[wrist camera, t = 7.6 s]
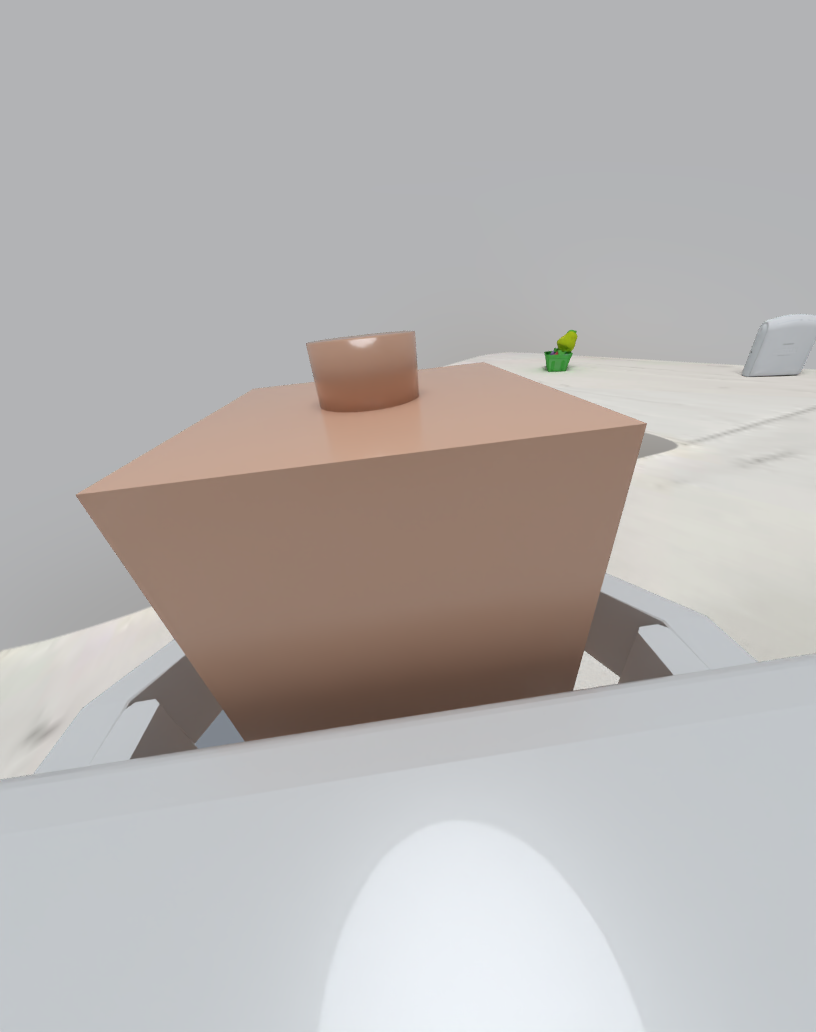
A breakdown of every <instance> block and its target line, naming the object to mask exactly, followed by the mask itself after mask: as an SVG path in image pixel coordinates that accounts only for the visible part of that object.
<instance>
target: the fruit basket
mask: <svg viewBox="0 0 816 1032" xmlns="http://www.w3.org/2000/svg"><path fill="white" fill-rule="evenodd" d="M576 339H577V334H576V331H574V330H570V331H568V332H567V334H566V335H564V336H563V337H561V338H560V339H559V340H558V341H557V345H558V348H557V349H556V348H554V351H549V352H544V353H545V358H546V367H547V370H548V372H554V371H566V368H567V366H568V363H569V360H570V358H571V356H572V353H571V351H572V350H573V348H574V346H575V342H576Z"/></svg>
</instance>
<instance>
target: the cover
mask: <svg viewBox="0 0 816 1032" xmlns="http://www.w3.org/2000/svg"><path fill="white" fill-rule="evenodd" d="M306 346H307V350H308V354H309V359H310V363H311V368H312V373H313V377H314V381H315V382H309V383H300V384H292V385H283V386H275V387H267V388H258V389H252V390H251V391H249V392H247V393H246V394H244V395H243V396H241V397H239V398H237V399H236V400H234V401H232V402H231V403H229V404H228V405H226V406H224V407H222V408H221V409H219V410H217V411H215V412H214V413H212V414H211V415H209V416H207V417H205V418H204V419H202V420H200V421H199V422H197V423H195V424H194V425H192V426H190V427H189V428H187V429H185V430H184V431H182V432H180V433H179V434H177V435H175V436H174V437H172V438H170V439H169V440H167V441H165V442H164V443H162V444H160V445H158V446H157V447H155V448H154V449H152V450H150V451H148V452H147V453H145V454H143V455H142V456H140V457H138V458H137V459H135V460H133V461H132V462H130V463H128V464H127V465H125V466H123V467H122V468H120V469H118V470H117V471H115V472H113V473H111V474H110V475H108V476H106V477H105V478H103V479H101V480H100V481H98V482H96V483H95V484H93V485H91V486H90V487H88V488H86V489H85V490H83V491H81V492H80V493H78V494H76V496H77V498H78V499H79V501H80V502H81V504H82V505H83V507H84V508H85V509H86V511H87V512H88V514H89V515H90V517H91V518H92V519H93V521H94V523H95V524H96V525H97V527H98V528H99V530H100V531H101V533H102V534H103V536H104V537H105V539H106V540H107V541H108V543H109V544H110V546H111V547H112V549H113V550H114V552H115V553H116V555H117V556H118V557H119V559H120V560H121V562H122V563H123V565H124V566H125V568H126V569H127V570H128V572H129V573H130V575H131V576H132V578H133V579H134V580H135V582H136V584H137V585H138V587H139V588H140V590H141V591H142V592H143V594H144V595H145V597H146V598H147V600H148V601H149V603H150V604H151V606H152V607H153V608H154V610H155V611H156V613H157V614H158V616H159V617H160V619H161V620H162V622H163V623H164V624H165V626H166V627H167V629H168V630H169V632H170V633H171V635H172V636H173V638H174V639H175V640H176V642H177V643H178V645H179V646H180V648H181V649H182V651H183V652H184V654H185V655H186V657H187V658H188V659H189V661H190V662H191V664H192V665H193V667H194V668H195V670H196V671H197V673H198V674H199V675H200V677H201V678H202V680H203V681H204V683H205V684H206V686H207V687H208V689H209V690H210V691H211V693H212V694H213V696H214V697H215V699H216V700H217V702H218V703H219V705H220V706H221V707H222V709H223V710H224V712H225V713H226V715H227V716H228V718H229V719H230V721H231V722H232V723H233V725H234V726H235V728H236V729H237V731H238V732H239V734H240V735H241V737H242V738H243V740H244V741H245V742H246V741H252V740H259V739H265V738H272V737H278V736H285V735H291V734H298V733H304V732H311V731H317V730H324V729H330V728H337V727H343V726H350V725H356V724H363V723H369V722H376V721H382V720H389V719H395V718H402V717H408V716H415V715H421V714H428V713H434V712H441V711H447V710H454V709H460V708H466V707H473V706H479V705H485V704H492V703H498V702H505V701H511V700H517V699H524V698H530V697H537V696H543V695H549V694H556V693H562V692H569V691H573V688H574V685H575V681H576V677H577V674H578V670H579V667H580V663H581V659H582V656H583V652H584V649H585V645H586V641H587V638H588V634H589V631H590V627H591V623H592V620H593V616H594V612H595V609H596V605H597V602H598V598H599V594H600V591H601V587H602V584H603V580H604V576H605V573H606V569H607V566H608V562H609V558H610V555H611V551H612V547H613V544H614V540H615V537H616V533H617V529H618V526H619V522H620V519H621V515H622V511H623V508H624V504H625V501H626V497H627V493H628V490H629V486H630V482H631V479H632V475H633V472H634V468H635V464H636V461H637V457H638V454H639V450H640V446H641V443H642V439H643V436H644V432H645V428H646V425H647V423H644V422H642V421H639V420H636V419H634V418H631V417H628V416H626V415H623V414H620V413H618V412H615V411H612V410H610V409H607V408H604V407H602V406H599V405H596V404H594V403H591V402H588V401H586V400H583V399H580V398H578V397H575V396H572V395H570V394H567V393H564V392H562V391H559V390H556V389H554V388H551V387H548V386H546V385H543V384H540V383H538V382H535V381H532V380H530V379H527V378H524V377H522V376H519V375H516V374H514V373H511V372H508V371H506V370H503V369H500V368H498V367H495V366H492V365H490V364H487V363H484V362H481V363H473V364H464V365H456V366H447V367H438V368H430V369H421V370H418V369H417V355H416V342H415V331H400V332H386V333H376V334H367V335H357V336H349V337H341V338H333V339H326V340H320V341H314V342H309V343H306Z"/></svg>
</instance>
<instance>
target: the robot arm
mask: <svg viewBox="0 0 816 1032" xmlns="http://www.w3.org/2000/svg"><path fill="white" fill-rule="evenodd" d="M584 651H586V652H587V653H588V654H590V655H591V656H592V657H594V658H595V659H596V660H598V661H599V662H600V663H602V664H603V665H604V666H606V667H607V668H609V669H610V670H611V671H613V672H614V673H615V674H617V675H618V676H619V677H620V679H619V682H618V684H614V685H607V686H601V687H594V688H588V689H581V690H575V691H569V692H562V693H556V694H549V695H543V696H537V697H530V698H524V699H517V700H511V701H505V702H498V703H492V704H485V705H479V706H473V707H466V708H460V709H454V710H447V711H441V712H434V713H428V714H421V715H415V716H408V717H402V718H395V719H389V720H382V721H376V722H369V723H363V724H356V725H350V726H343V727H337V728H330V729H324V730H317V731H311V732H304V733H298V734H291V735H285V736H278V737H272V738H265V739H259V740H252V741H246V742H240V743H233V744H227V745H220V746H214V747H207V748H201V749H199V748H198V747H197V746H196V745H195V743H196V742H197V740H198V739H199V738H200V737H201V736H202V734H203V733H204V732H205V731H206V729H207V728H208V727H209V726H210V725H211V723H212V722H213V721H214V720H215V718H216V717H217V716H218V715H219V714H220V712H221V711H222V710H223V709H222V707H221V706H220V705H219V703H218V702H217V700H216V699H215V697H214V696H213V694H212V693H211V691H210V690H209V689H208V687H207V686H206V684H205V683H204V681H203V680H202V678H201V677H200V675H199V674H198V673H197V671H196V670H195V668H194V667H193V665H192V664H191V662H190V661H189V659H188V658H187V657H186V655H185V654H184V652H183V651H182V649H181V648H180V646H179V645H178V643H177V642H176V640H175V639H174V640H172V641H171V642H170V643H168V644H167V645H166V646H164V647H163V648H162V649H160V650H159V651H158V652H156V653H155V654H154V655H152V656H151V657H150V658H148V659H147V660H146V661H144V662H143V663H142V664H140V665H139V666H138V667H136V668H135V669H134V670H132V671H131V672H130V673H128V674H127V675H126V676H124V677H123V678H122V679H120V680H119V681H118V682H116V683H115V684H114V685H112V686H111V687H110V688H108V689H107V690H106V691H104V692H103V693H102V694H100V695H99V696H98V697H96V698H95V699H94V700H92V701H91V702H90V703H88V704H87V705H86V706H84V707H83V708H82V709H81V711H80V712H79V713H78V715H77V716H76V717H75V719H74V720H73V721H72V723H71V724H70V725H69V727H68V728H67V729H66V731H65V732H64V733H63V735H62V736H61V738H60V739H59V740H58V742H57V743H56V744H55V746H54V747H53V748H52V750H51V751H50V752H49V754H48V755H47V756H46V758H45V759H44V760H43V762H42V763H41V764H40V766H39V767H38V768H37V770H36V771H35V772H34V774H33V775H26V776H20V777H13V778H7V779H0V1032H816V653H814V654H808V655H801V656H795V657H788V658H782V659H775V660H769V661H762V662H758V661H757V660H755V659H754V658H753V657H752V656H751V655H750V654H749V653H748V652H746V651H745V650H744V649H743V648H742V647H741V646H740V645H739V644H737V643H736V642H735V641H734V640H733V639H732V638H731V637H729V636H728V635H727V634H726V633H725V632H724V631H723V630H722V629H720V628H719V627H718V626H717V625H716V624H715V623H714V622H712V621H711V620H710V619H709V618H708V617H707V616H705V615H703V614H701V613H698V612H696V611H694V610H691V609H689V608H687V607H684V606H682V605H680V604H677V603H675V602H673V601H670V600H668V599H666V598H663V597H661V596H659V595H656V594H654V593H652V592H649V591H647V590H645V589H642V588H640V587H638V586H635V585H633V584H631V583H628V582H626V581H624V580H621V579H619V578H616V577H614V576H612V575H609V574H607V573H605V576H604V580H603V584H602V587H601V591H600V594H599V598H598V602H597V605H596V609H595V612H594V616H593V620H592V623H591V627H590V631H589V634H588V638H587V641H586V645H585V649H584Z"/></svg>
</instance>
